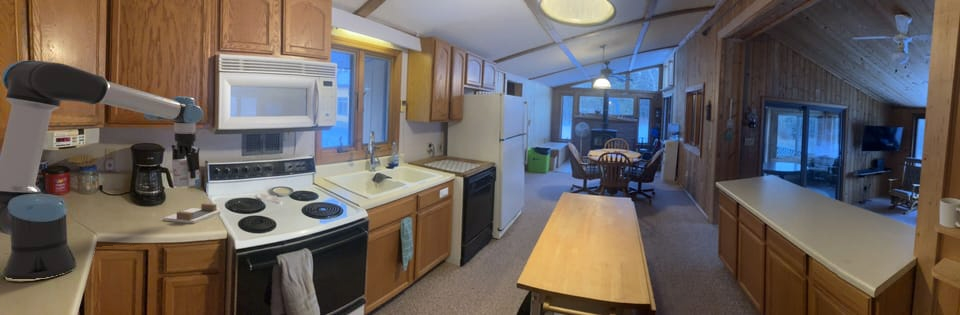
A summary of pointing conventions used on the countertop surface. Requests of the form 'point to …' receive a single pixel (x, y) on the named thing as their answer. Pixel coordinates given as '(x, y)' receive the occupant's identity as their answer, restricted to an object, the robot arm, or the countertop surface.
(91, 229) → the countertop surface
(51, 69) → the robot arm
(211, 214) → the board
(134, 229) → the countertop surface
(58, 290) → the countertop surface
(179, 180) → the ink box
